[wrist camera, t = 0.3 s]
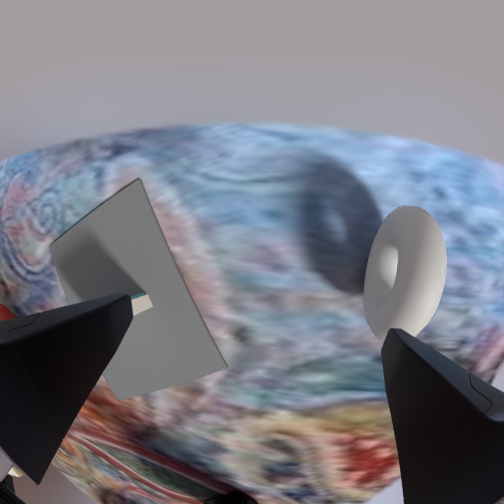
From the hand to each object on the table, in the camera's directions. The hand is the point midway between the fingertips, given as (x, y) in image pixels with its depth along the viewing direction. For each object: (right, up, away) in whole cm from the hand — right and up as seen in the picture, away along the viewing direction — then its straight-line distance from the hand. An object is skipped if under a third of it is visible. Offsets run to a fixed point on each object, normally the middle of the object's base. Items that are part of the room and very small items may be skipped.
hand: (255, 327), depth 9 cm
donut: (+11, +1, +15) cm, 18 cm away
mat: (-13, -3, +18) cm, 22 cm away
